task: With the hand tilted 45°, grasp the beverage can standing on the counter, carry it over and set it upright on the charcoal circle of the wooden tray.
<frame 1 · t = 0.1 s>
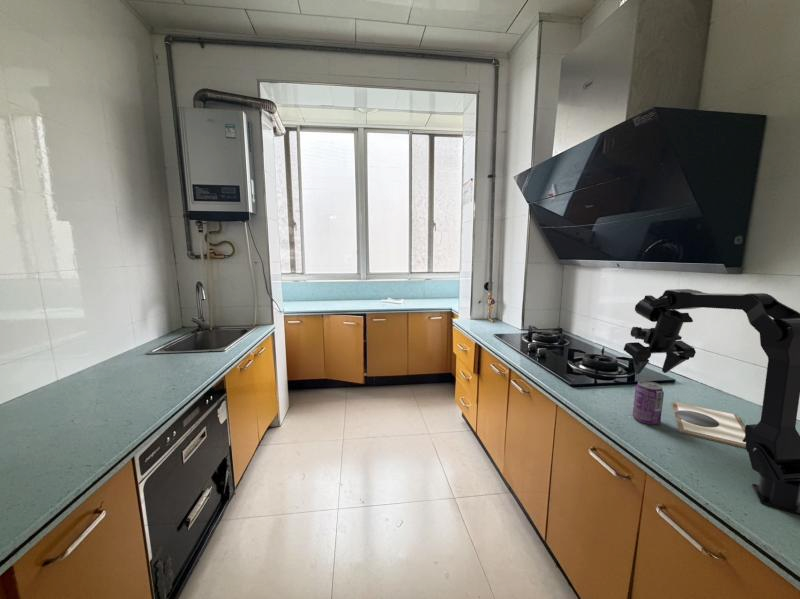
hand: (650, 372, 101), 15 cm above the counter, tool pointing down, fingers open, 9 cm apart
wooden tray: (709, 424, 100), on the counter
beverage can: (645, 420, 103), on the counter
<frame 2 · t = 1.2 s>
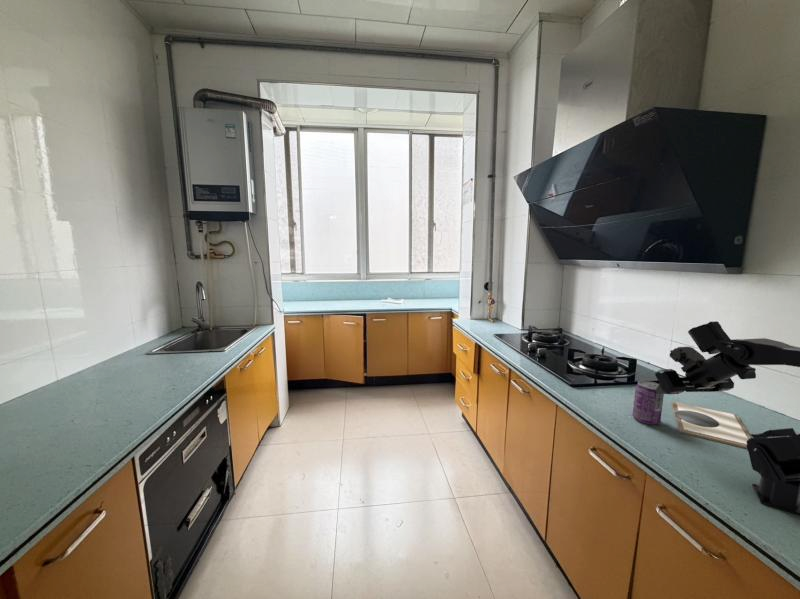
hand: (671, 391, 94), 13 cm above the counter, tool tilted 45°, fingers open, 9 cm apart
nothing on the counter moved.
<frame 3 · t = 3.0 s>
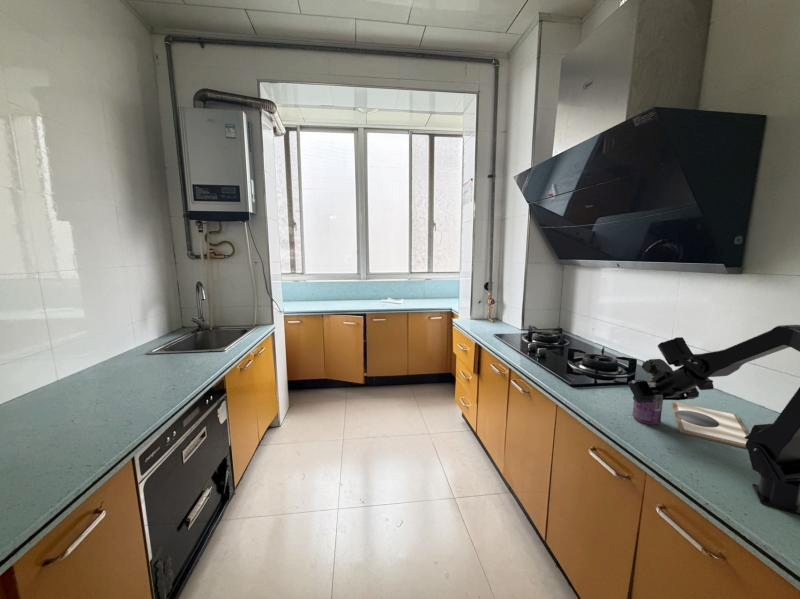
hand: (644, 398, 103), 7 cm above the counter, tool tilted 45°, fingers closed on beverage can, 7 cm apart
beverage can: (645, 420, 103), on the counter, touching gripper
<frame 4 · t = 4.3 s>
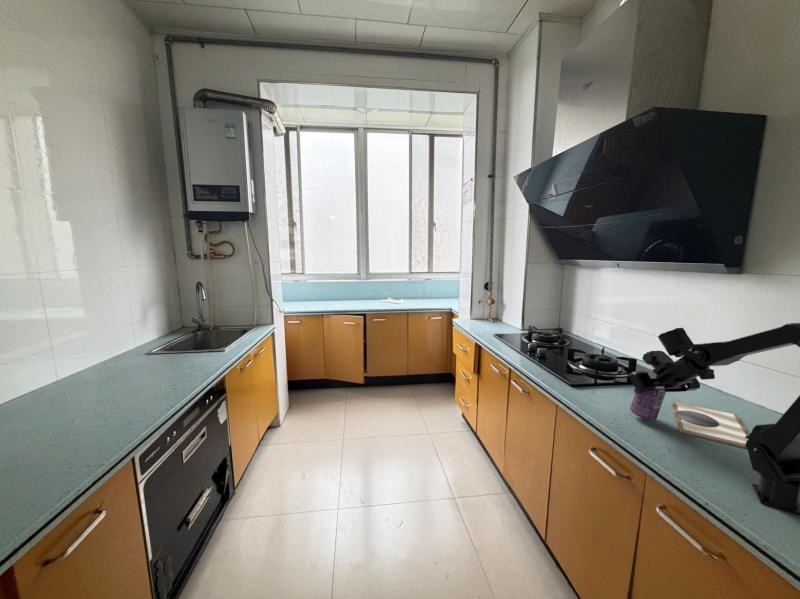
hand: (645, 391, 103), 9 cm above the counter, tool tilted 45°, fingers closed on beverage can, 7 cm apart
beverage can: (642, 414, 104), point 1 cm above the counter, touching gripper
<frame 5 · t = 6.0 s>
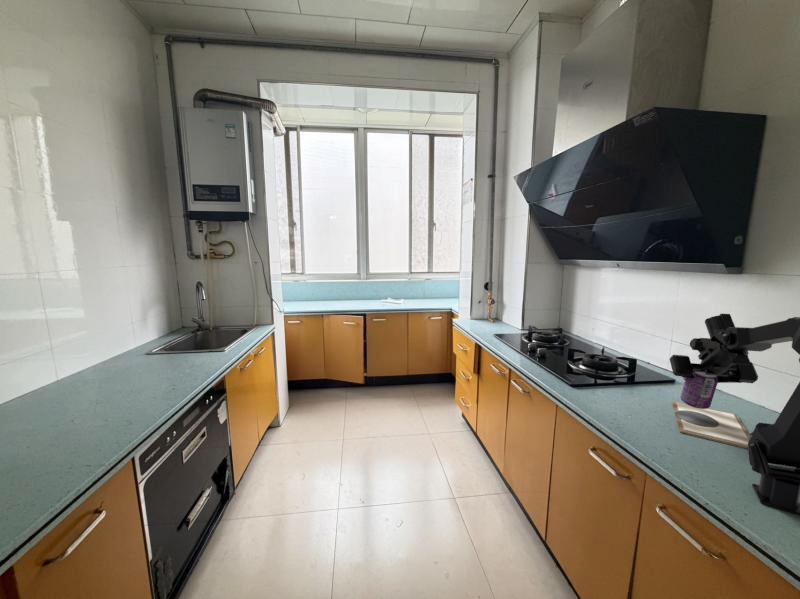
hand: (698, 379, 101), 13 cm above the counter, tool tilted 45°, fingers closed on beverage can, 7 cm apart
beverage can: (694, 403, 102), point 5 cm above the counter, touching gripper
when the fingers open (9 cm above the counter, at t = 7.6 s): beverage can stays where it is, resting on wooden tray.
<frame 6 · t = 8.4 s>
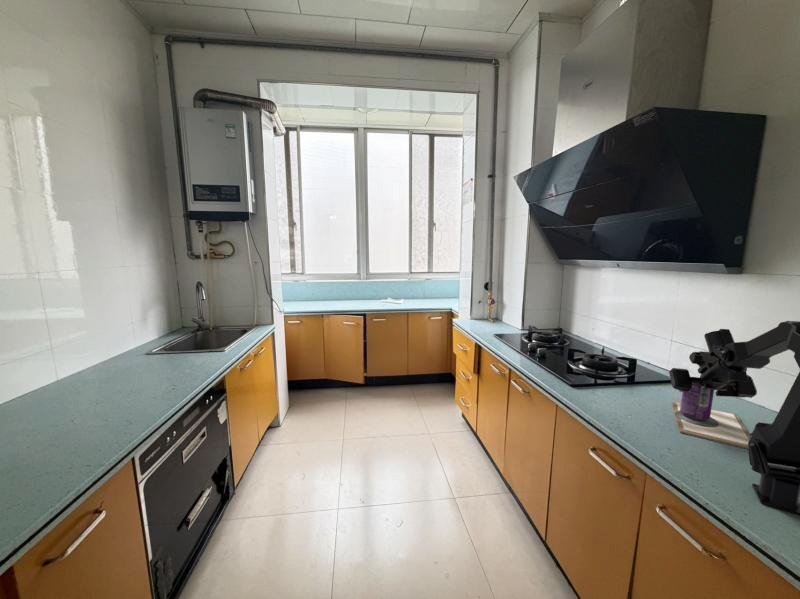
hand: (697, 392, 102), 9 cm above the counter, tool tilted 45°, fingers open, 9 cm apart
beverage can: (694, 416, 103), point 1 cm above the counter, touching wooden tray
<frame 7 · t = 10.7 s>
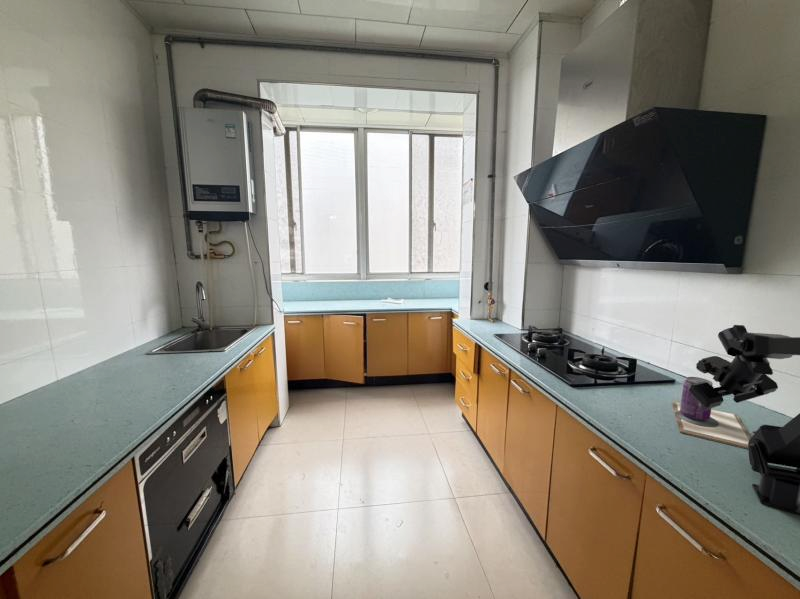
hand: (719, 405, 92), 10 cm above the counter, tool tilted 30°, fingers open, 9 cm apart
nothing on the counter moved.
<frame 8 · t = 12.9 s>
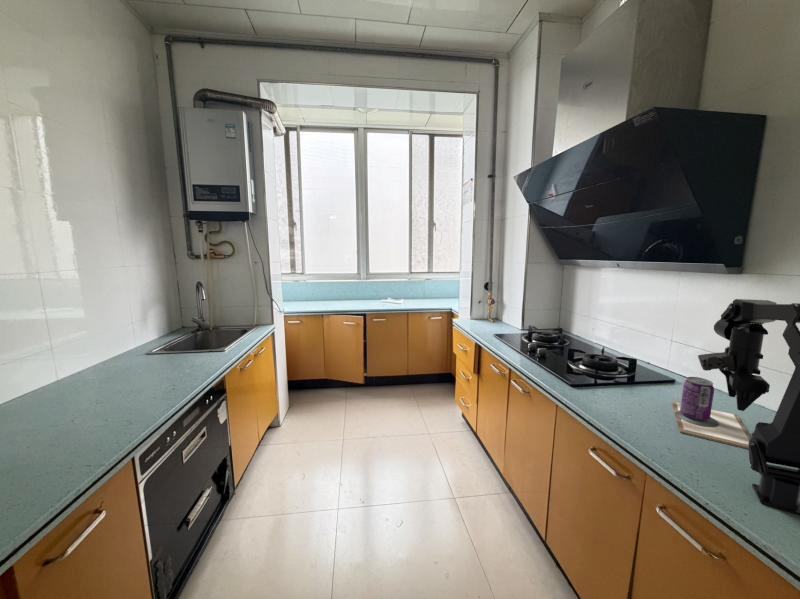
hand: (735, 403, 86), 13 cm above the counter, tool pointing down, fingers open, 9 cm apart
nothing on the counter moved.
at the end: beverage can inside the target area on the wooden tray (1.4 cm from its centre), point 0.8 cm above the wooden tray's base; beverage can tilted 1°; the gripper is holding nothing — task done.
